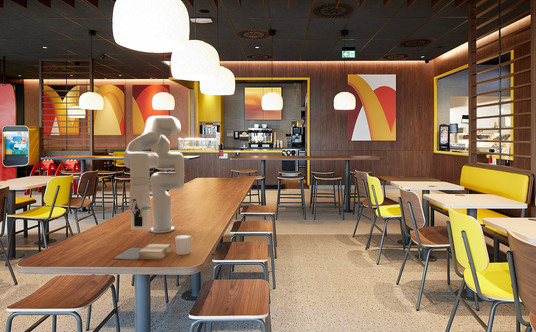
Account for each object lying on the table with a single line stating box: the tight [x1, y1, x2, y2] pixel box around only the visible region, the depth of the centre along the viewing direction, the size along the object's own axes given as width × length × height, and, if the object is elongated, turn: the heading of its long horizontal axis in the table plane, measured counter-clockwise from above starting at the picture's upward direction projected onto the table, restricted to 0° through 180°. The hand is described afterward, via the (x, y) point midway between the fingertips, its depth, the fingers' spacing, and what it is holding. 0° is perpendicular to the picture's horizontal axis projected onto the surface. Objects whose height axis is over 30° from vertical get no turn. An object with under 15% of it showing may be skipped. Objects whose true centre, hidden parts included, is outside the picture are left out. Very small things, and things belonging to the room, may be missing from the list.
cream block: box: [129, 206, 152, 231], centre depth 141 cm, size 4×7×9 cm, turn 85°
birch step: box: [138, 243, 172, 260], centre depth 142 cm, size 11×9×3 cm
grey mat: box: [113, 247, 144, 261], centre depth 143 cm, size 14×10×1 cm
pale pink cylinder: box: [174, 234, 192, 256], centre depth 145 cm, size 7×7×7 cm
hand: (141, 224), depth 141 cm, fingers closed on cream block, 4 cm apart
